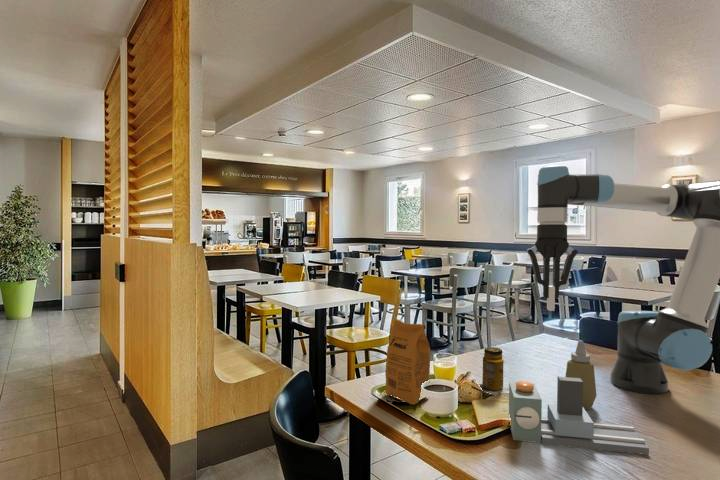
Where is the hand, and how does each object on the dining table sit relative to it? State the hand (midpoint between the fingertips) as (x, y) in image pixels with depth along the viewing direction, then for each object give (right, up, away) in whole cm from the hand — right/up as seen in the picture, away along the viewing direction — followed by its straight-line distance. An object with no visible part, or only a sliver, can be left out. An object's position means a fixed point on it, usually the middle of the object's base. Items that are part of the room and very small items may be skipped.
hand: (550, 309), depth 120 cm
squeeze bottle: (+8, -27, 0) cm, 28 cm away
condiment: (-13, -26, +13) cm, 32 cm away
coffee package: (-39, -26, +7) cm, 47 cm away
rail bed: (+1, -27, -18) cm, 32 cm away
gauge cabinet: (-13, -27, -15) cm, 33 cm away
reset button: (-13, -19, -15) cm, 27 cm away
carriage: (-3, -25, -17) cm, 30 cm away
